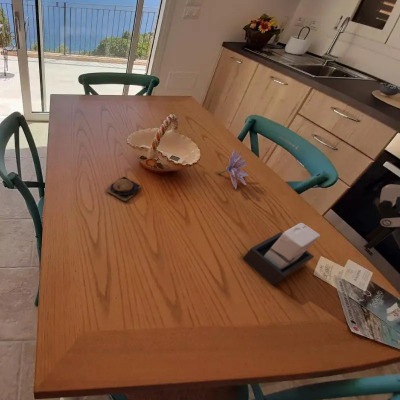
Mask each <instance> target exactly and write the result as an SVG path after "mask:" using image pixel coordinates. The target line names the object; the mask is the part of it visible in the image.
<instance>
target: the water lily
mask: <svg viewBox="0 0 400 400" xmlns="http://www.w3.org/2000/svg"><path fill="white" fill-rule="evenodd" d="M245 160H246V159H245V158H244V157H243V158H242V155H241V151H239V152H238V153H237V151H236V148H233V150H232V152H231V155H230V156H229V159H228V165H227V166H226V167H225V169H224V170H221V171H219V172H218V173H217V174H218V175H220V174H223V173H225V172H226V173H228V174H229V175H230V176H229V177H230V180H231V183H232V185H233V188H234V189H235V190H237V186H238V183H237V180H238V181H239V182H240V183H241V184H243V185H244V186H247V183H246V181H245V179H244V177H248V176H250V174H248V172H246V171H244V170H242V169H243V168H244V167H246V166H247V165H248V162H247V161H245Z"/></svg>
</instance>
